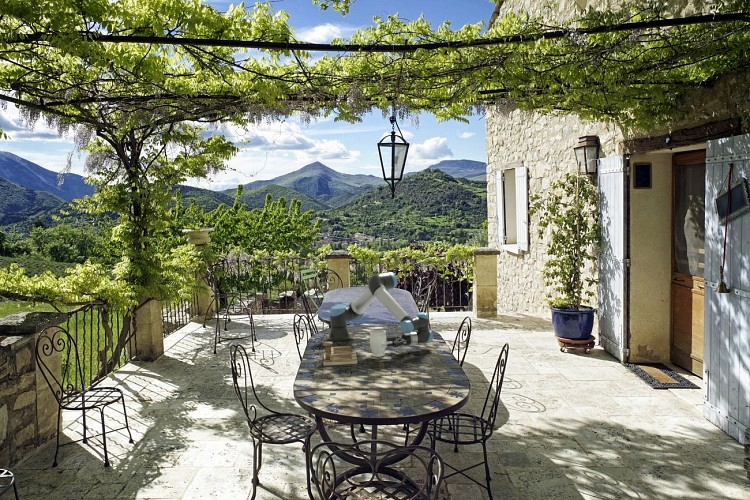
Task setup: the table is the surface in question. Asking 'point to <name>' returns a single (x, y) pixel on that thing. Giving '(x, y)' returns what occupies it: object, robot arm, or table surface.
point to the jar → (377, 342)
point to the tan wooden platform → (338, 355)
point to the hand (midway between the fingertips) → (377, 343)
